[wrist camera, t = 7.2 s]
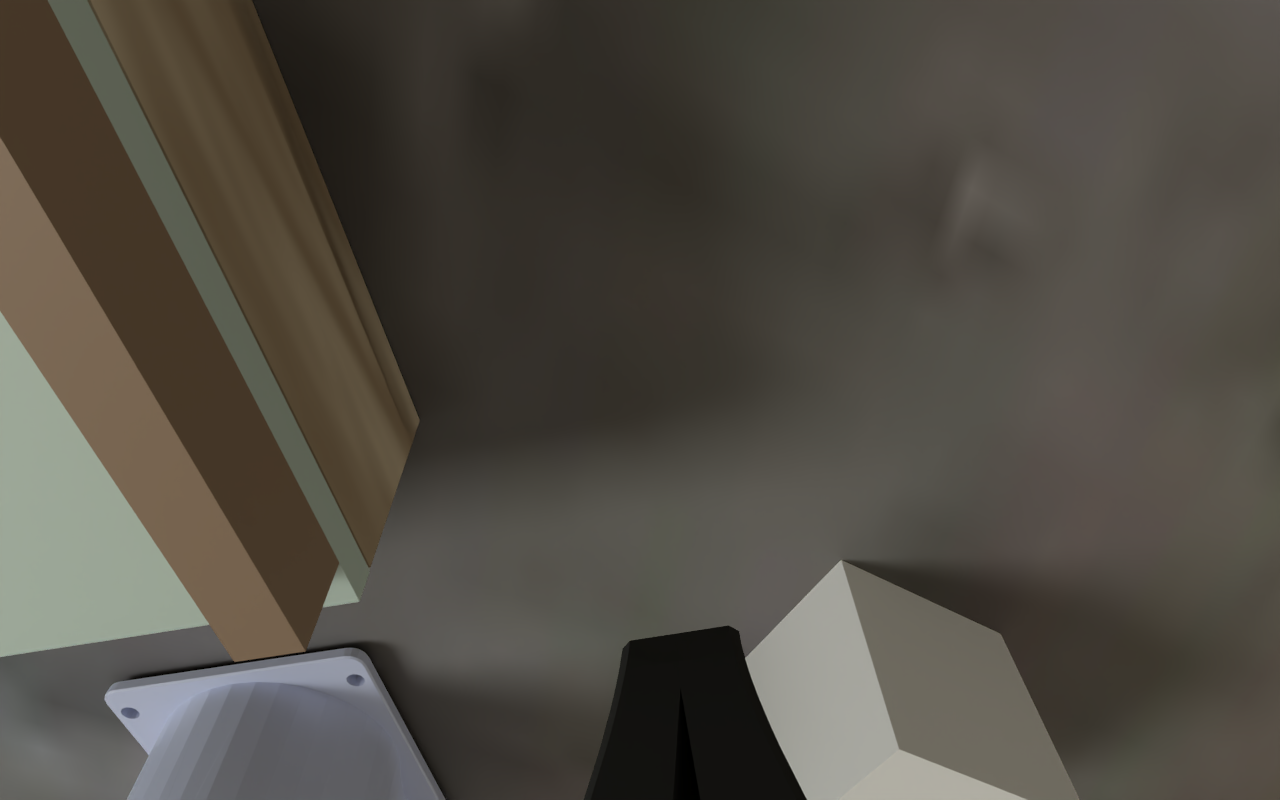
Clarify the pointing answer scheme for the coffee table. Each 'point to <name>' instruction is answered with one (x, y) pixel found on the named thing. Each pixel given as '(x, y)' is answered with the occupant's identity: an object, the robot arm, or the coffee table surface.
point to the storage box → (272, 236)
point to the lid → (135, 386)
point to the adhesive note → (900, 700)
